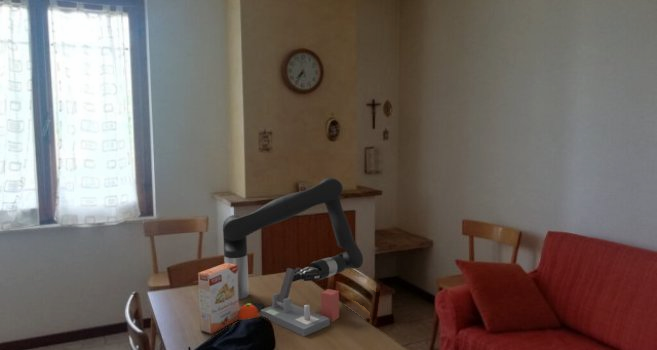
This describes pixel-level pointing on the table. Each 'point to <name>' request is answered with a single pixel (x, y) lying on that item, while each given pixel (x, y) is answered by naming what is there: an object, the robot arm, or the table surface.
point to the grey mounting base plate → (294, 317)
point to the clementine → (248, 311)
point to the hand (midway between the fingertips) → (290, 279)
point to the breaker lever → (286, 286)
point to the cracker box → (218, 297)
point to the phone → (258, 306)
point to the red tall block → (330, 304)
